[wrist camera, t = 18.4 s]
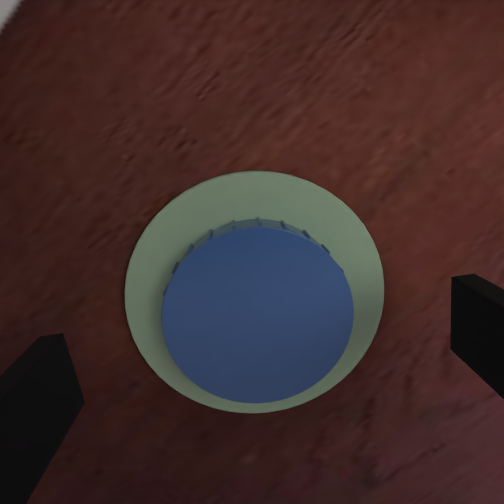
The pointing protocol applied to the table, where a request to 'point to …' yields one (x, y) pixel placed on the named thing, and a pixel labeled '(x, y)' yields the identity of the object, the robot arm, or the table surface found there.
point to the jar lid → (257, 311)
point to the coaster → (240, 208)
